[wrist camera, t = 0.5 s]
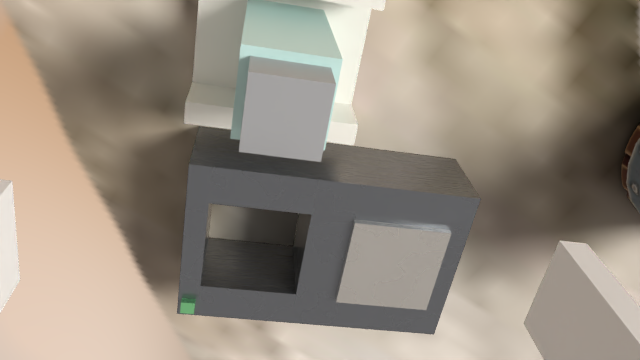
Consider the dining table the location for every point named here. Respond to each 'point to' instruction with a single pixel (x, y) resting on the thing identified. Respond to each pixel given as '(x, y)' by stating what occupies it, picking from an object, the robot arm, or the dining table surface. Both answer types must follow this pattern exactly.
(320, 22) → the plug
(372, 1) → the holster
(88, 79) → the dining table surface
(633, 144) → the mug
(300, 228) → the port panel
